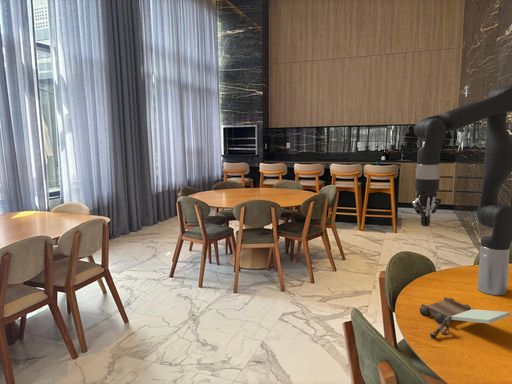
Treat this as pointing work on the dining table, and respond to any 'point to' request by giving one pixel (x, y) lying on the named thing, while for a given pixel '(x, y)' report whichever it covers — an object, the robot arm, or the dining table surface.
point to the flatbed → (444, 309)
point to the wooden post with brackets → (441, 326)
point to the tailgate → (480, 316)
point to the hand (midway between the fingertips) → (425, 225)
